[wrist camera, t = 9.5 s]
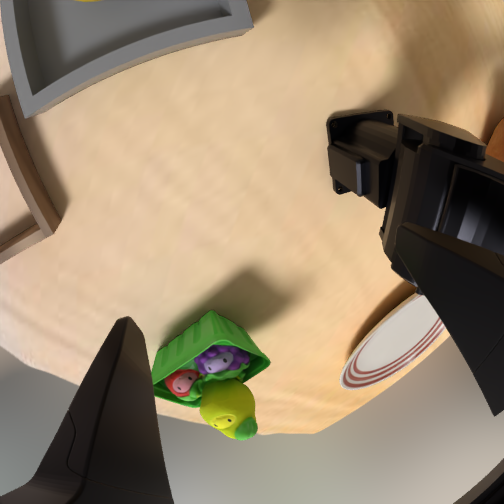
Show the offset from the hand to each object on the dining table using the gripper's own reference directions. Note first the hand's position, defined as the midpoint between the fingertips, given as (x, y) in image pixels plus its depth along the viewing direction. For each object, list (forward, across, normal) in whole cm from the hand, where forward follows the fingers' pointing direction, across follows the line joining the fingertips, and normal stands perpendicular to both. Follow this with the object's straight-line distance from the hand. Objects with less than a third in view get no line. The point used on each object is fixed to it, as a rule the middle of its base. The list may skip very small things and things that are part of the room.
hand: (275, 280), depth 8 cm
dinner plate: (+14, -23, +35) cm, 44 cm away
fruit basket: (+13, +7, +18) cm, 24 cm away
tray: (+13, +3, -15) cm, 20 cm away
